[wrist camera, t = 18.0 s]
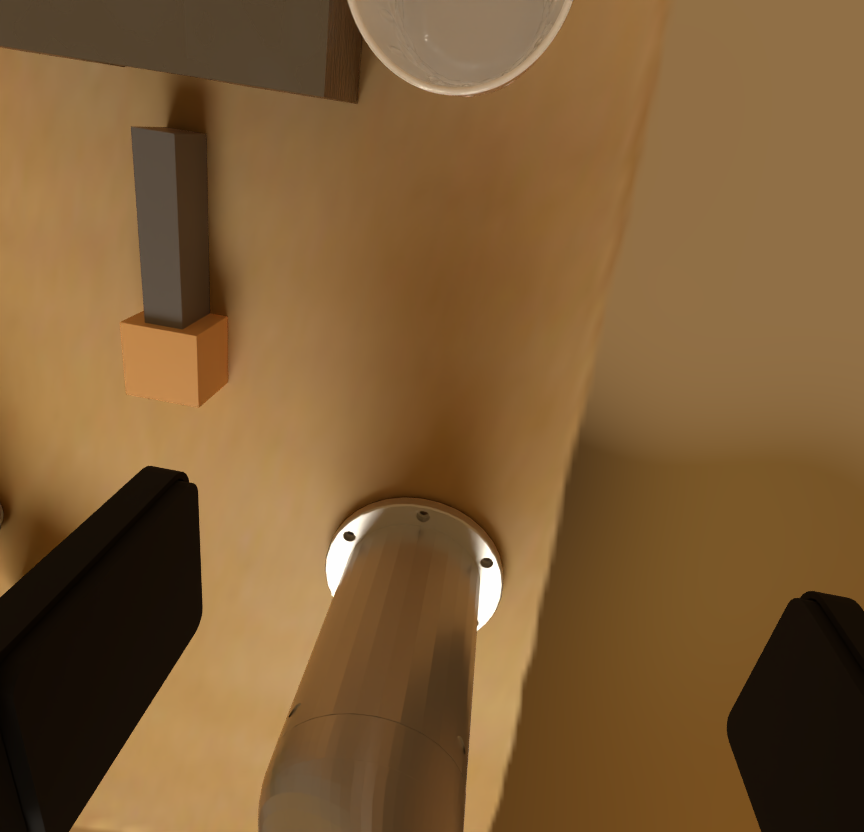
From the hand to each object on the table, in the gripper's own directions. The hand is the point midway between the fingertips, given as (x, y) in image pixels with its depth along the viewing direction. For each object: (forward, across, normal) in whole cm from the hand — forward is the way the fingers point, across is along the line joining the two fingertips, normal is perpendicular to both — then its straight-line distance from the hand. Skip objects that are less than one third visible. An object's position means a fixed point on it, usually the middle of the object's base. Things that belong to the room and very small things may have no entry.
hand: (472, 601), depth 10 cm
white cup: (+27, +3, -12) cm, 29 cm away
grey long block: (+26, +18, -9) cm, 33 cm away
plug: (+26, +18, +3) cm, 32 cm away
